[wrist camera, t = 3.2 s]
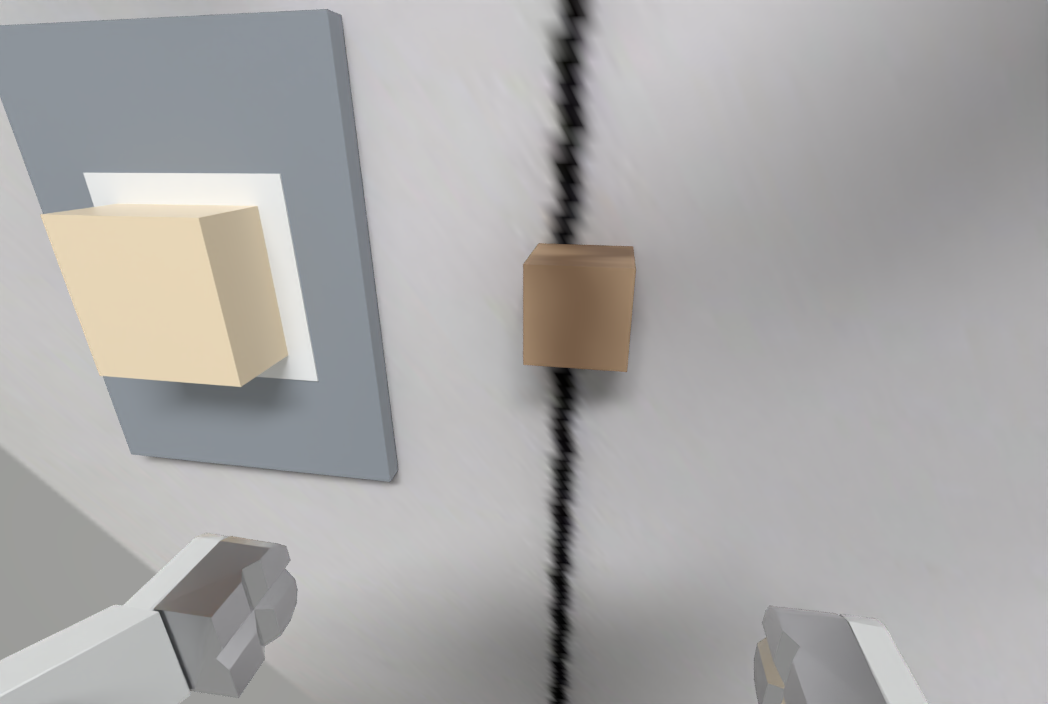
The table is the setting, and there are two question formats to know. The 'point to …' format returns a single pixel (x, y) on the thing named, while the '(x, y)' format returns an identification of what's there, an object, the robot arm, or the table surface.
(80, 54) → the board
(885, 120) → the table surface
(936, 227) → the table surface
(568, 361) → the walnut cube
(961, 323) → the table surface
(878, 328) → the table surface
